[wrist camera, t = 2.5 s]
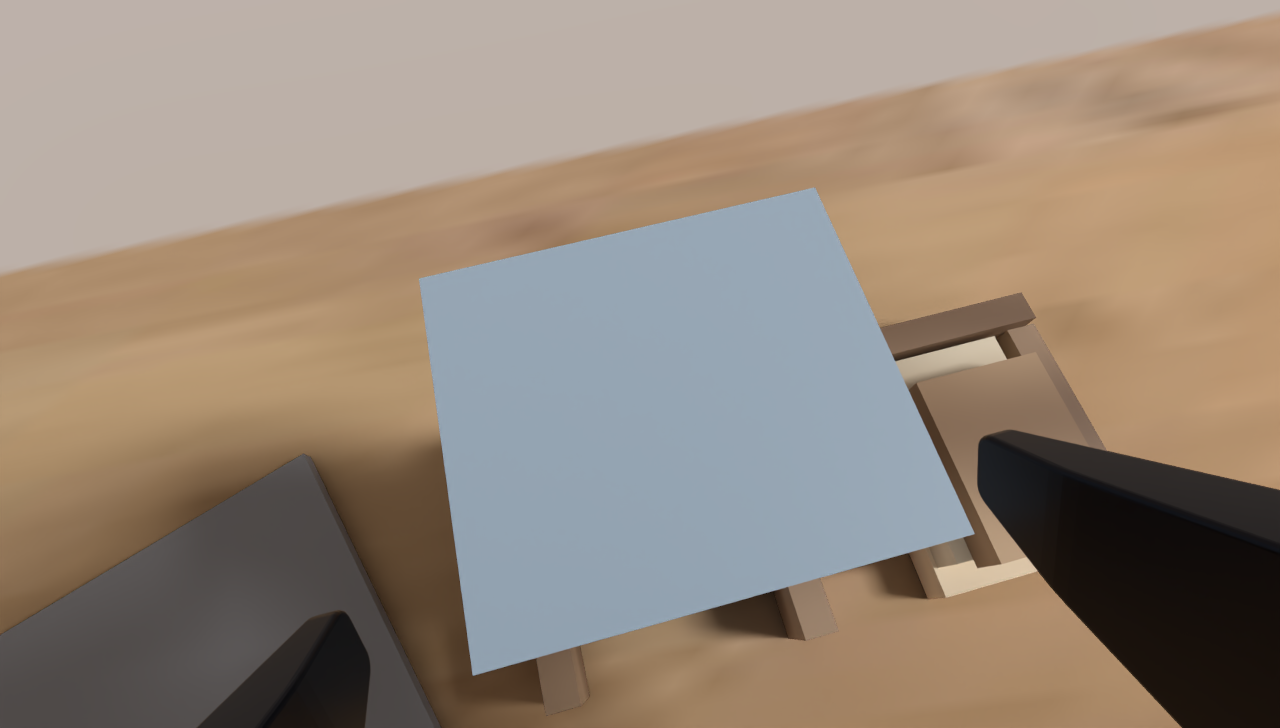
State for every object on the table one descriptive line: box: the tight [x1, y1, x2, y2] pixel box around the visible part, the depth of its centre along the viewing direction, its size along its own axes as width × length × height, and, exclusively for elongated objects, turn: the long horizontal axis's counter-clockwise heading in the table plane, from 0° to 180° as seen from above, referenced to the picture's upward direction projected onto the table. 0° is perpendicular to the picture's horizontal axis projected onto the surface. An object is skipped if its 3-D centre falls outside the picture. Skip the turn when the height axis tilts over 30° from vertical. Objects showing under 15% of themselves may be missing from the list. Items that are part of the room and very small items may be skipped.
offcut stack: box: [895, 336, 1089, 599], centre depth 16 cm, size 6×4×3 cm, turn 15°
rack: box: [536, 293, 1107, 716], centre depth 16 cm, size 7×15×2 cm, turn 105°
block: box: [419, 188, 975, 676], centre depth 11 cm, size 4×4×12 cm
